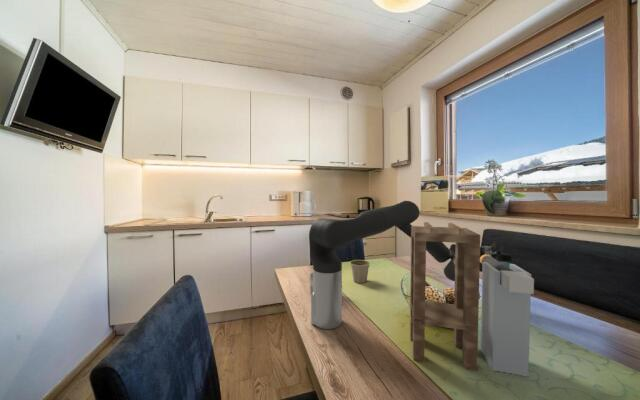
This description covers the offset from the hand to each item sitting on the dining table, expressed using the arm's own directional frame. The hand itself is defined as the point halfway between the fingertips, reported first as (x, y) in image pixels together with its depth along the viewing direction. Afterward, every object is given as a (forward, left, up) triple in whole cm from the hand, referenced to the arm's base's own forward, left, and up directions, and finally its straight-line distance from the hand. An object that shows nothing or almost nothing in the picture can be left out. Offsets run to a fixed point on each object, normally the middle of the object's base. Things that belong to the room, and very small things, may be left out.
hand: (481, 244), depth 76 cm
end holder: (0, -17, -26) cm, 31 cm away
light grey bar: (0, -15, -3) cm, 15 cm away
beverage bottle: (+12, +14, -26) cm, 32 cm away
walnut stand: (-14, -16, -26) cm, 33 cm away
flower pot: (-40, +29, -26) cm, 56 cm away
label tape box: (-54, +12, -26) cm, 61 cm away
